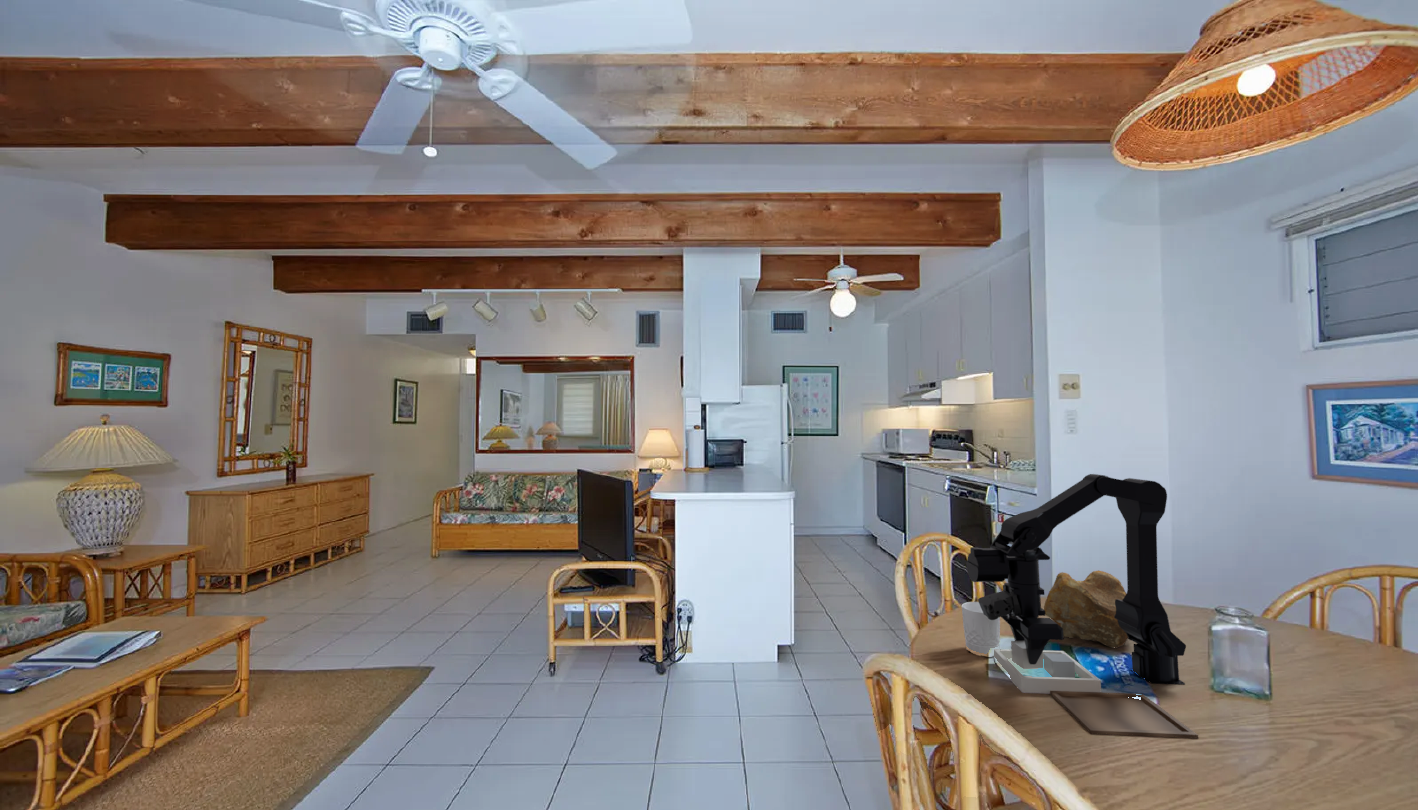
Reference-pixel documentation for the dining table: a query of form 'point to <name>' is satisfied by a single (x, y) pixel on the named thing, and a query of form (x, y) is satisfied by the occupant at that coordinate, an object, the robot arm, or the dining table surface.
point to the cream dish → (1049, 683)
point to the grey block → (1059, 665)
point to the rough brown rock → (1087, 607)
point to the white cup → (979, 628)
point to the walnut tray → (1121, 714)
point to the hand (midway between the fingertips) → (1027, 659)
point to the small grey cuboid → (1023, 656)
